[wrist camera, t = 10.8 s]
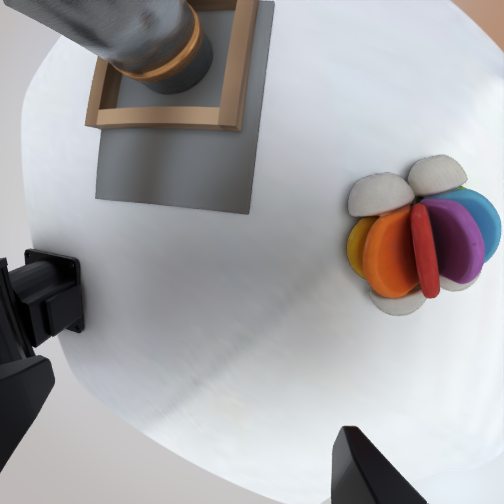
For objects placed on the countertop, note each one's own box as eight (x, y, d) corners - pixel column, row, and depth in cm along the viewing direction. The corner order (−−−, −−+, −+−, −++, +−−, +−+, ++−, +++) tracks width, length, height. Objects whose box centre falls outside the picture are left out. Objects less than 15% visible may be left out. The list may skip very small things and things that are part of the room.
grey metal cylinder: (136, 102, 18) (-20, 32, 5) (141, 36, 16) (23, -60, 3) (214, 89, 17) (102, -43, 4) (214, 21, 16) (137, -119, 3)
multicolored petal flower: (322, 189, 18) (345, 194, 11) (449, 149, 17) (514, 141, 10) (359, 310, 20) (388, 369, 13) (473, 263, 18) (533, 297, 11)
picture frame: (98, 198, 20) (78, 201, 17) (129, 12, 16) (115, -2, 14) (248, 213, 19) (243, 218, 17) (274, 3, 15) (272, -15, 13)
